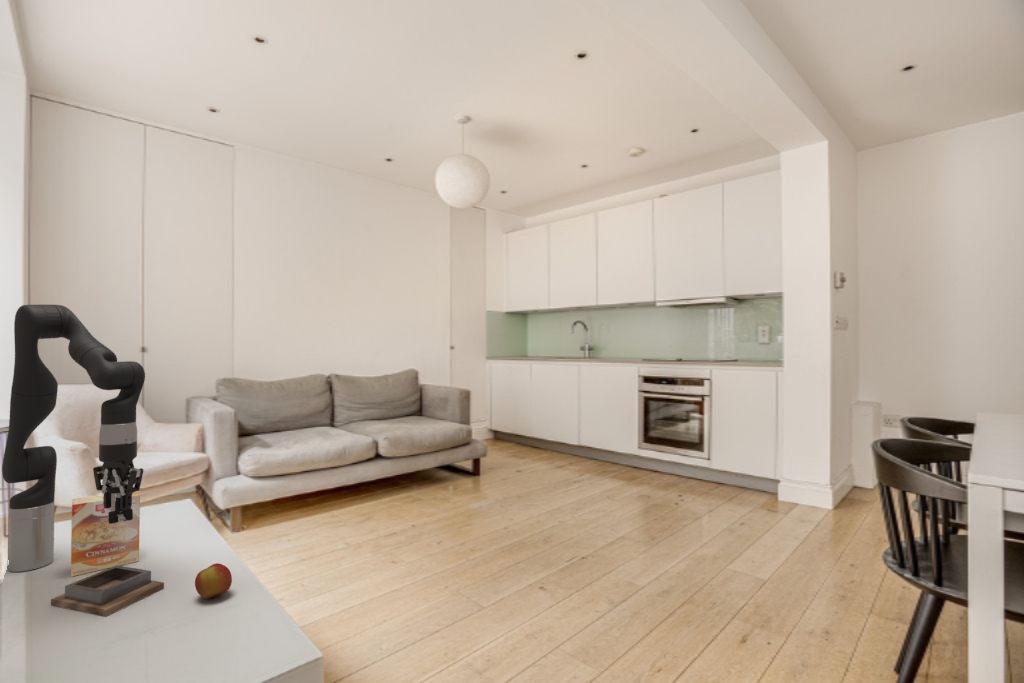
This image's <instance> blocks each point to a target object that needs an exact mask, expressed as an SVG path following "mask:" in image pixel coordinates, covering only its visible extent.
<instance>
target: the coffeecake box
mask: <svg viewBox="0 0 1024 683" xmlns="http://www.w3.org/2000/svg"><path fill="white" fill-rule="evenodd" d="M71 502H72V503H71V528H70V529H71V530H70V531H71V533H70V534H71V537H70V539H71V540H70V577H71V578H72V577H75V576H80V575H84V574H88V573H93V572H98V571H101V570H102V571H103V570H106V569H109V568H111V567H114V566H116V565H118V566H124V565H128V564H134V563H137V562H139V560H140V527H141V526H140V524H141V522H140V519H141V517H140V515H141V510H140V509H141V495H140V490H139V491H137V492H134V493H132V506H131V508H132V510H133V519H132V520H127V521H122V522H117V523H112V524H109V522H104V521H108V518H107V519H100V518H105V517H108V513H109V512H110V509H111V508H108V509H107V508H104V504H103V503H104V494H100V495H99V494H98V495H91V496H86V497H77V498H72V501H71ZM115 502H116V495H115ZM114 511H115V510H114ZM100 522H104V523H100Z"/></svg>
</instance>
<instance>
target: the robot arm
mask: <svg viewBox="0 0 1024 683" xmlns="http://www.w3.org/2000/svg"><path fill="white" fill-rule="evenodd" d="M14 315H15V317H14V324H13V326H14V327H13V328H14V329H13V332H14V333H13V334H14V337H13V338H14V366H13V376H12V384H11V389H10V390H11V392H10V401H9V422H8V423H9V424H8V431H7V438H6V443H5V448H4V454H3V459H2V466H1V472H2V473H1V475H2V478H3V480H4V482H6V483H8V484H17V483H25V482H31V481H37V482H36V483H35V484H33V485H32V486H30V487H29V488H27V489H25V490H23V491H21V492H18V493H16V494H14V495H12V496H11V497H10V498H9V512H8V513H9V514H8V515H9V519H8V520H9V524H8V525H9V526H8V527H9V528H8V529H9V530H8V531H9V532H8V534H7V561H8V560H9V565H8V564H7V568H8V571H10V572H12V573H13V572H14V573H18V572H20V573H21V572H27V571H31V570H35V569H36V570H37V569H39V568H43V567H46V566H48V565H50V564H52V563H53V562H54V560H55V559H54V558H55V556H54V555H55V494H56V493H55V492H56V476H57V475H56V473H57V465H58V464H57V463H58V457H57V452H56V449H55V448H54V446H51V445H44V446H43V445H42V446H33V447H25V446H26V443H27V441H28V439H29V438H30V437H31V435H32V434H33V432H34V431H35V430H36V429H37V428H38V427H39V426H40V425H41V424H42V423H43V422H44V421H45V420H46V419H47V418H48V417H49V416H50V415H51V413H52V412H53V411H54V409H55V408H56V406H57V405H56V404H57V400H58V399H57V398H58V388H59V387H58V386H59V384H58V381H57V379H56V377H55V376H54V374H53V373H52V372H51V371H50V370H49V368H48V367H47V366H46V365H45V363H44V362H43V360H42V359H41V356H40V355H39V348H38V346H39V344H38V343H39V340H45V339H46V340H47V339H59V338H63V339H65V340H67V341H68V342H69V343H68V346H67V347H68V348H67V349H68V355H69V356H70V357H71V359H72V361H74V362H75V363H77V364H78V365H79V366H80V367H82V368H83V369H84V370H85V371H86V373H87V375H88V376H89V378H90V380H91V382H92V384H93V385H94V387H96V388H98V389H100V390H103V391H104V390H105V391H115V390H119V392H118V394H117V395H116V397H114V398H110V399H107V400H105V401H103V402H102V403H101V406H100V428H99V433H98V434H99V435H98V437H99V438H98V440H99V442H98V443H99V444H98V460H99V462H101V463H103V464H102V465H98V466H95V467H93V468H92V470H93V471H92V472H93V477H94V484H95V488H96V491H101V493H102V495H104V503H103V504H104V508H107V509H108V508H111V494H110V493H108V489H107V487H108V486H110V485H111V482H113V481H115V482H116V485H117V487H119V488H120V492H121V495H122V496H120V510H127V509H130V508H131V506H132V493H134V492H137V491H139V492H140V488H141V484H142V480H143V475H144V468H137V467H135V464H134V459H136V458H137V456H138V428H137V427H138V426H137V404H138V402H139V399H140V396H141V392H142V390H143V387H144V383H145V380H146V372H145V368H144V367H143V366H142V364H141V363H139V362H137V361H133V360H132V361H130V360H129V361H126V360H125V361H118V358H117V355H116V354H115V352H114V351H112V350H111V349H110V348H108V347H107V346H106V345H105V344H104V343H101V341H99V340H98V339H97V338H95V337H94V335H93V334H92V333H91V332H90V331H89V330H88V328H87V327H86V326H85V325H84V324H83V322H82V321H81V320H80V319H79V318H78V317H77V316H76V314H75V313H74V312H73V311H72V310H70V308H68V307H66V306H65V305H61V304H22V305H21V306H20V307H18V308H17V311H16V312H15V314H14ZM127 479H128V481H127V482H122V481H126V480H127ZM101 480H102V481H101ZM125 485H127V489H125Z"/></svg>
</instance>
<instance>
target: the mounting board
mask: <svg viewBox="0 0 1024 683" xmlns="http://www.w3.org/2000/svg"><path fill="white" fill-rule="evenodd" d="M120 582H122V581H121V580H113V581H110V582H108V583H106V584H103V585H101V586H99V587H96V589H102V590H104V589H106V588H108V587H111V586H113V585H115V584H117V583H120ZM164 589H165V582H163V581H158V580H157V581H156V580H153V579H151V583H149V584H147V585H145V586H143V587H141V588H139V589H136V590H134V591H132V592H130V593H128V594H126V595H123V596H121V597H119V598H117V599H115V600H113V601H111V602H108V603H106V604H104V605H102V606H100V605H95V604H89V603H84V602H79V601H74V600H69V599H65V592H64V593H62V594H60V595H58V596H55V597H53V598H52V597H51V598H50V606H51V607H52V606H53V607H57V608H62V609H67V610H72V611H77V612H81V613H86V614H92V615H97V616H102V617H108V616H111V615H113V614H114V613H117V612H118V611H120V610H122V609H124V608H127V607H128V606H130V605H131V606H132V605H133V604H134V603H137V602H138V601H141V600H144V599H145V598H147V597H149V596H151V595H153V594H155V593H157V592H159V591H162V590H164Z"/></svg>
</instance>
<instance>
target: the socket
mask: <svg viewBox="0 0 1024 683" xmlns="http://www.w3.org/2000/svg"><path fill="white" fill-rule="evenodd" d="M113 580H121V581H122V582H120V583H117V584H115V585H113V586H111V587H108V588H106V589H104V590H102V589H96V587H99V586H101V585H103V584H106V583H108V582H110V581H113ZM151 580H152V571H151V570H148V569H147V570H146V569H141V568H135V567H129V566H124V565H120V566H118V565H116V566H114V567H111V568H107V569H103V570H102V571H101V570H100V572H97V573H94V574H92V575H89V576H87V577H85V578H82V579H79V580H77V581H74V582H72V583H70V584H67V585H64V593H65V599H69V600H74V601H79V602H84V603H89V604H95V605H100V606H102V605H104V604H106V603H108V602H111V601H113V600H115V599H117V598H119V597H121V596H123V595H126V594H128V593H130V592H132V591H134V590H136V589H139V588H141V587H143V586H145V585H147V584H149V583H151Z"/></svg>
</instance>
